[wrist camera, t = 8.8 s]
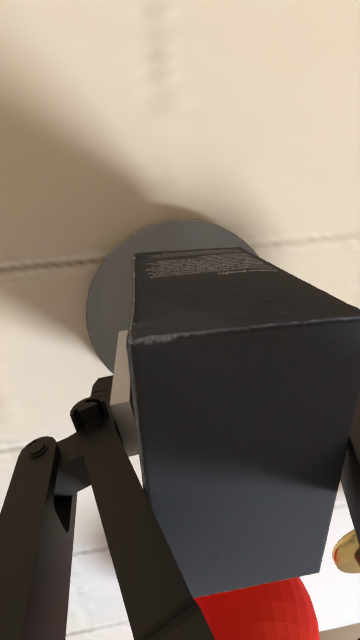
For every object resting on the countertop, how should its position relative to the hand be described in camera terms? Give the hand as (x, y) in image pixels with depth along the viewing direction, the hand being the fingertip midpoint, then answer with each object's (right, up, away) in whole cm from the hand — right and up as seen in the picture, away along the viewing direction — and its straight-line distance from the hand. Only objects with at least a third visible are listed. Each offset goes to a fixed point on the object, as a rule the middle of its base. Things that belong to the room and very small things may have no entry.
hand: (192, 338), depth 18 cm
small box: (0, 0, 0) cm, 1 cm away
